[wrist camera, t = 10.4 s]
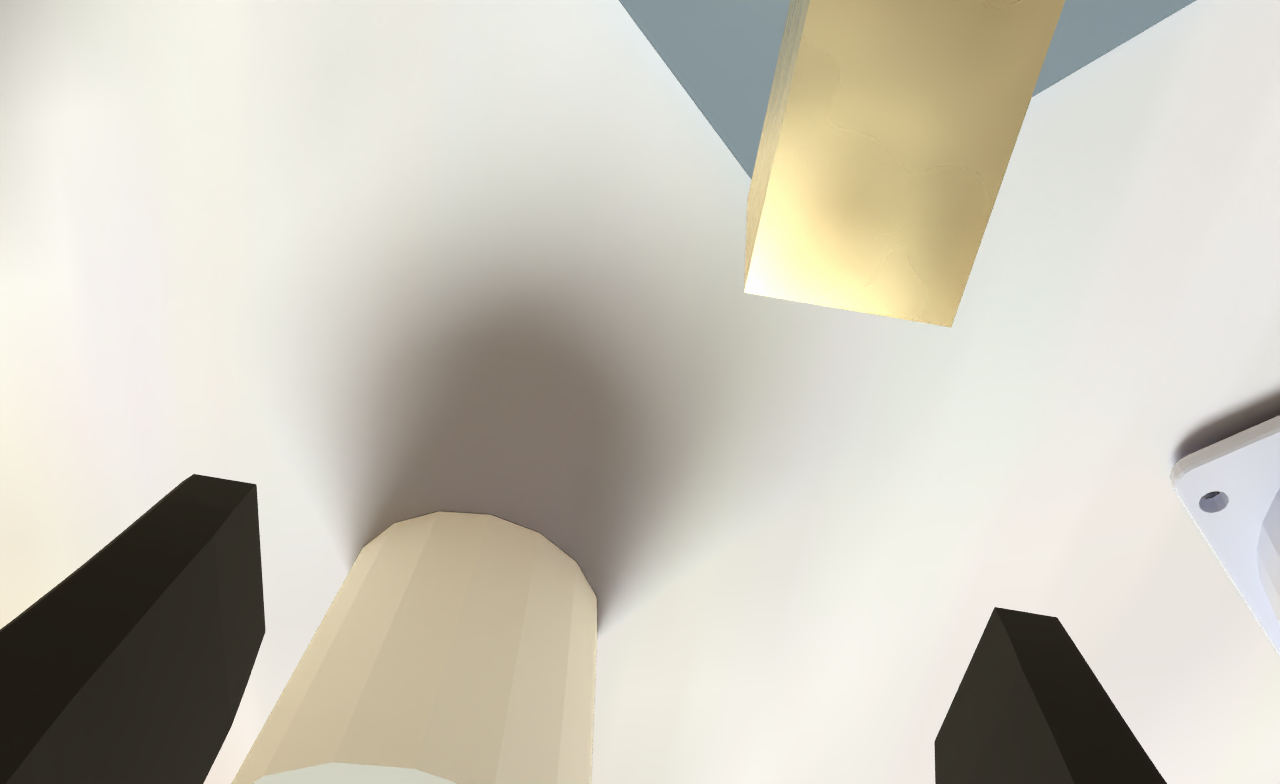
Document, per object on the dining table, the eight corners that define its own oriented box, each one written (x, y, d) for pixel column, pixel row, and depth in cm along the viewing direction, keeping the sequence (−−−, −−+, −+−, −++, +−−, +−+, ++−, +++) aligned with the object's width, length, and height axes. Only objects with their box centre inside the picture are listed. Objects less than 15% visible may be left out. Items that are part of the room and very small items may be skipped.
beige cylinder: (656, 527, 25) (621, 818, 19) (596, 733, 29) (554, 1023, 23) (330, 457, 25) (198, 732, 19) (315, 675, 29) (203, 955, 23)
